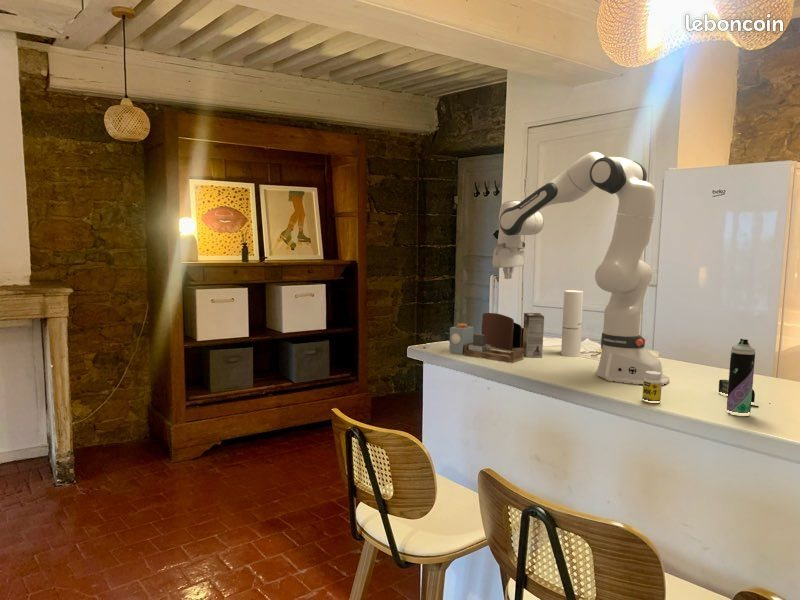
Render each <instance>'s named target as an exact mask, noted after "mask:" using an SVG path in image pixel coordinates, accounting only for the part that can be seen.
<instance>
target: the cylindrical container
mask: <svg viewBox="0 0 800 600" xmlns="http://www.w3.org/2000/svg"><path fill="white" fill-rule="evenodd" d="M583 304H584V291H583V290H572V289H569V290H568V289H567V290H564V292H563V309H562V329H561V330H562V331H561V350H560V351H561V352H560V353H561V356H564V357H569V358H571V357H572V358H577V357H580V356H581V349H582V348H581V347H582V330H583V329H582V326H583V325H582V323H583V308H584V307H583Z"/></svg>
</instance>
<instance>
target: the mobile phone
mask: <svg viewBox="0 0 800 600" xmlns="http://www.w3.org/2000/svg"><path fill="white" fill-rule="evenodd" d="M728 383H729V379H719V380H718V391H719V392H722V393H725V394H728ZM755 397H756V393H755V390H754V389H753V388H752V399H751V402H754V403H755V399H756V398H755Z"/></svg>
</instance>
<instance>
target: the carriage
mask: <svg viewBox="0 0 800 600" xmlns="http://www.w3.org/2000/svg"><path fill="white" fill-rule="evenodd" d="M468 350H470V351H476V352H483V353H490V350H491V346H490V345H488V344H486V335H483V334H481V333H474V334H473V344H470V345H469V347H468Z"/></svg>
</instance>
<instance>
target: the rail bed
mask: <svg viewBox="0 0 800 600" xmlns="http://www.w3.org/2000/svg"><path fill="white" fill-rule="evenodd" d="M470 344H473V343H469V344H466V345H464V355H463V356H466V357H471V358H472V357H473V358H479V359H484V360H485V359H486V360H491V361H497V362H498V361H499V362H505V363H510V364H514V363H517V362H520V361H523V360H524V354H523V349H519V350H515V351H505V350H504V351H503V350H495V349H490V353H483V352H476V351H470V350H468V347H469V345H470Z"/></svg>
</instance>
